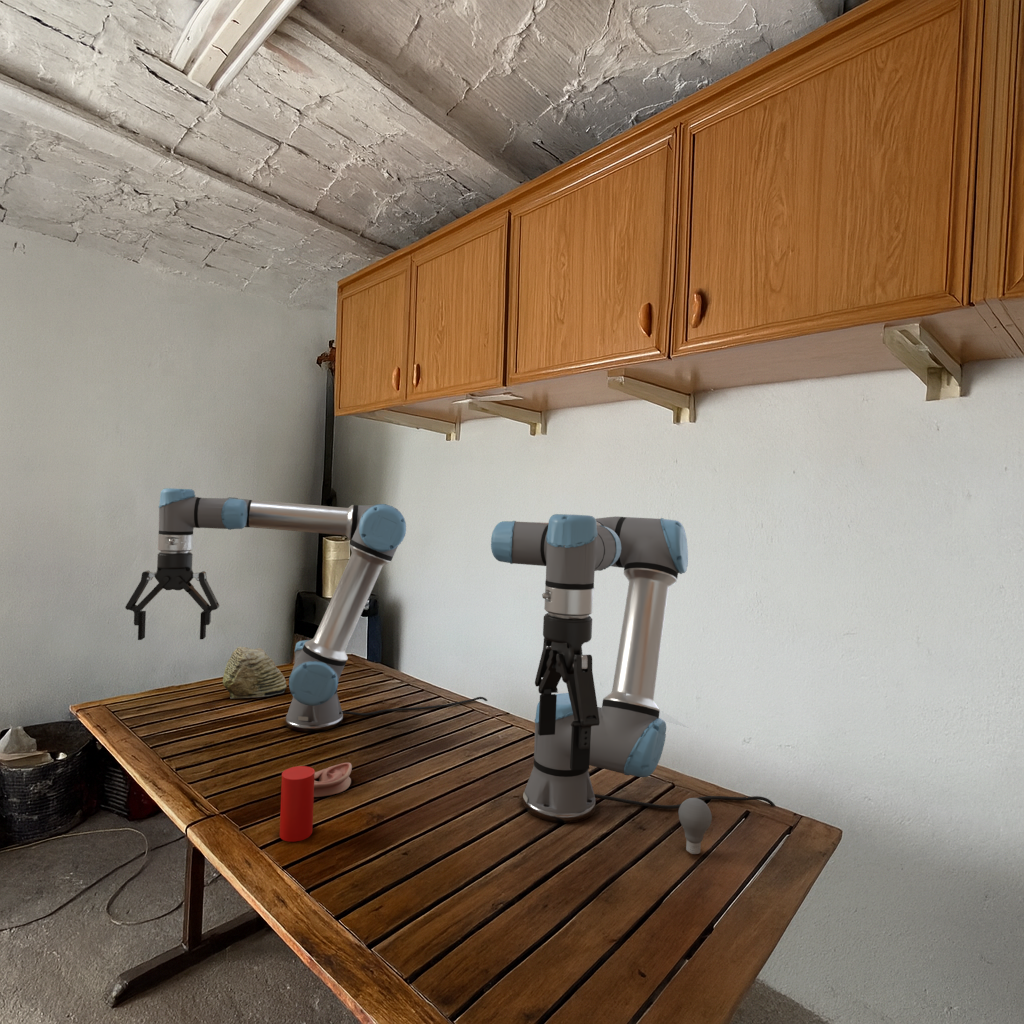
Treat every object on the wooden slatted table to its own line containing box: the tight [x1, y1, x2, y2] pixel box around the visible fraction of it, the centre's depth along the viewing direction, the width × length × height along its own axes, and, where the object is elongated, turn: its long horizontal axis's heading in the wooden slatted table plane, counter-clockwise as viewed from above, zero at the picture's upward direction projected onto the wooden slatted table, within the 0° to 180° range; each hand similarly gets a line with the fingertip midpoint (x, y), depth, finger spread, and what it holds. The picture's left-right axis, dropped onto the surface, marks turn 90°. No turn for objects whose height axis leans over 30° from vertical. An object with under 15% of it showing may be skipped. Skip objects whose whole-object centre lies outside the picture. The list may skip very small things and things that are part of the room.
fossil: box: [222, 646, 288, 699], centre depth 198 cm, size 9×18×15 cm, turn 132°
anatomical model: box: [314, 762, 353, 798], centre depth 138 cm, size 13×4×12 cm
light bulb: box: [677, 797, 713, 855], centre depth 118 cm, size 6×6×10 cm
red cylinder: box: [279, 765, 316, 843], centre depth 119 cm, size 6×6×12 cm
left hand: (172, 638), depth 155 cm, fingers open, 13 cm apart
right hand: (561, 750), depth 98 cm, fingers open, 13 cm apart
